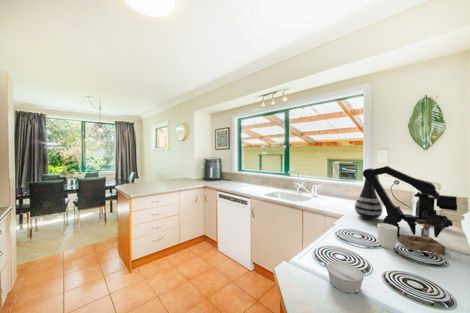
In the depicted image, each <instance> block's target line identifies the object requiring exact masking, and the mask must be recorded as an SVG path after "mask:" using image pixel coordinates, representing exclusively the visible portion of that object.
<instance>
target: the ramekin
mask: <svg viewBox="0 0 470 313" xmlns="http://www.w3.org/2000/svg"><path fill="white" fill-rule="evenodd" d="M326 268H327V272H328V278H330V279H329V281H330V283H331V285H332V284H333V285H334V286H335V287H336V289H337V288H338V289H340V290H342V291H341V292H343V291H344V292H343V293H345V292H348V293H347V294H351V293H353V294H356V293H355V292H356V291H357V290H359V289H360V288H362V284H363V281H364V272H362V270H360V268H358V267H356V266H355V265H352V264H351V263H349V262H344V261H339V260H338V261H337V260H336V261H331V262H328V264H327V267H326ZM333 285H332V286H333ZM334 286H333V287H334ZM335 287H334V288H335ZM338 289H337V290H338ZM340 290H339V291H340ZM360 290H361V289H360ZM360 290H359V291H360Z"/></svg>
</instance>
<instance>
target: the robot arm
mask: <svg viewBox="0 0 470 313" xmlns="http://www.w3.org/2000/svg"><path fill="white" fill-rule="evenodd" d="M385 174H387V175H389V176H390V177H392V178H395V179H397V180H400V181H402V182H404V183H406V184H408V185H410V186H412V187H413V188H414V189H416V190H417V191H418V192H416V193H415V194H414V195H413V196H414V197H415V198H418V200H419V206H417V208H418V214H417V215H416V216H418V217H415V215H413V214H409V213H404V211H402V209H401V207H400V205H398V206H396V205H395V204H394V203H393V202H392V200H391V198H390V197H389V196H390V195H388V193H387V191H386V190H385V188H384V187H383V185H382V184H381V182H380V179H379V175H385ZM362 176H363V177H364V178H366V179H367V181H369V182H370V183H371V184H372V186H373V187H374V189H375V193H376V195H377V197H378V198H379V200H381V201H380V202H381V203H382V205H383V206H384V207H385V211H386V216H384V218H383V221H382V222H383V223H386V224H390V225H393V226H396V227H397V228H398V232H397V237H400V234H401V233H400V232H401V230H400V228H401V227H400V224H399V223H401V221H404V222H406V223H407V224H408V227H409V228H410V231H411V232H412V236H416V232H417V231H416V227H417V225H418V223H416V222H417V221H426V222H428V224H430V226H433V234H434V237H435V238H438V237H439V235H440V234H441V232H442V231H443V230H444V229H447V228H449V227H453V221H452V220H451V219H449V218H448V217H447V215H439V214H438V213H437V210H436V209H435V204H436V207H438V208H439V209H440V210H447V211H453V212H454V211H455V212H457V211H458V204H457V202H458V201H457V199H458V198H457V196H455V195H454V196H452V195H451V196H450V195H441V194H440V192H438V191H437V190H436V186H435V184H434V183H432V182H430V181H427V180H424V179H419V178H415V177H413V176H410V175H408V174H406V173H404V172H401V171H399V170H397V169H395V168H393V167H390V166H388V165H385V166H383V167H378V168H371V167H370V168H366V169H363V171H362ZM421 192H422V193H424V194H421ZM427 194H429V196H428V195H427ZM435 201H436V203H435Z"/></svg>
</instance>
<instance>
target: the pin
mask: <svg viewBox="0 0 470 313" xmlns="http://www.w3.org/2000/svg"><path fill="white" fill-rule="evenodd" d="M420 225H421V226H420V228H421V229H420V230H421V231H420V237H430V228H431V225H430V226H429V225H427V224H420Z"/></svg>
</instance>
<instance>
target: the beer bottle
mask: <svg viewBox="0 0 470 313" xmlns="http://www.w3.org/2000/svg"><path fill="white" fill-rule="evenodd" d="M420 193H421V194H424V193H422V192H420ZM427 195H428V196H430V195H429V194H427ZM417 206H419V199H418V200H417V201H416V202H415V215H414V217H418V216H416V215H417V214H418V208H417ZM415 223H416V224H417V225H421V224H427V225H429V226H430V227H431V225H430V224H428V222H426V221H417V222H415Z"/></svg>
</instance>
